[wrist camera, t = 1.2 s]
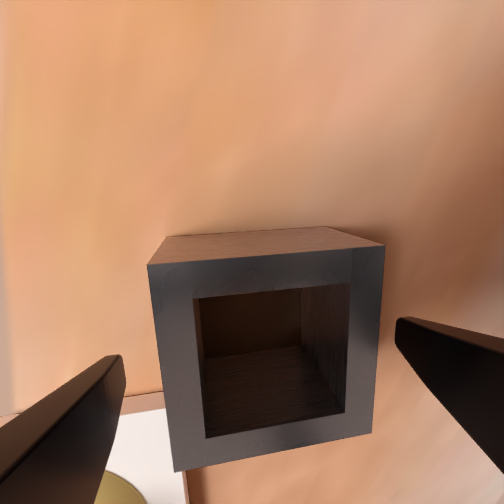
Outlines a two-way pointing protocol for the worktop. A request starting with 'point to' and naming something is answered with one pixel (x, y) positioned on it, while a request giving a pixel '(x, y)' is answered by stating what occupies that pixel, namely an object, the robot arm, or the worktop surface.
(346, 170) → the worktop surface
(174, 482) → the post base
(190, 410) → the grey hollow square box
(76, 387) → the robot arm
